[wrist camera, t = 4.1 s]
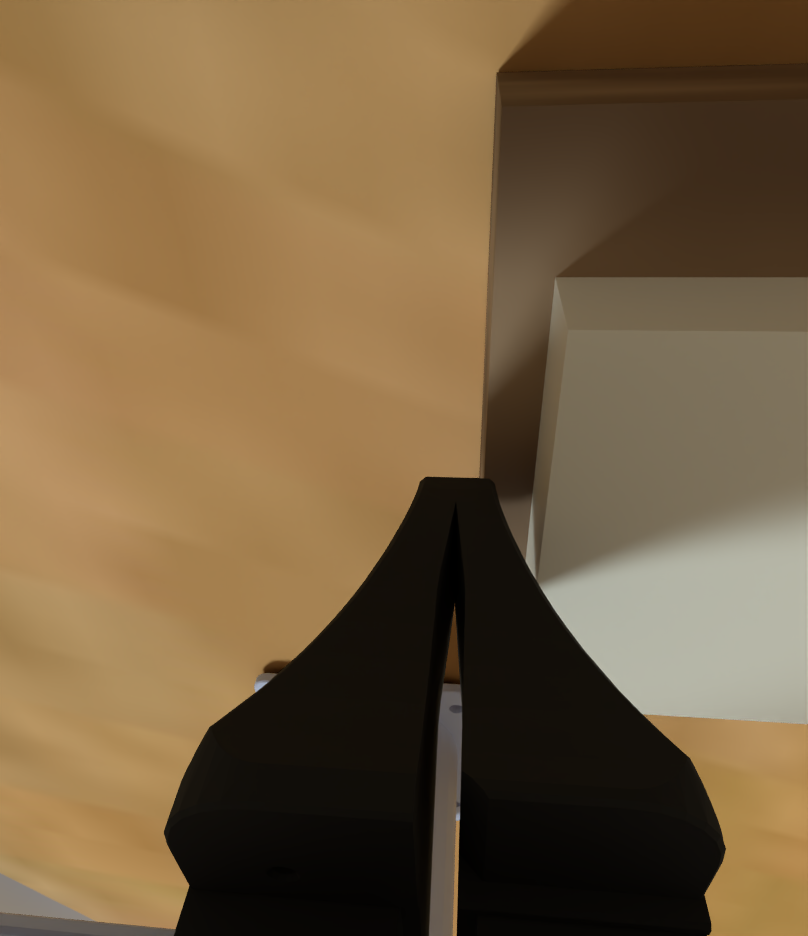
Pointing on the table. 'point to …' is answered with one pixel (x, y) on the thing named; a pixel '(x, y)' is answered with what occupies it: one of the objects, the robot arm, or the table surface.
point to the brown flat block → (627, 211)
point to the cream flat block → (679, 489)
